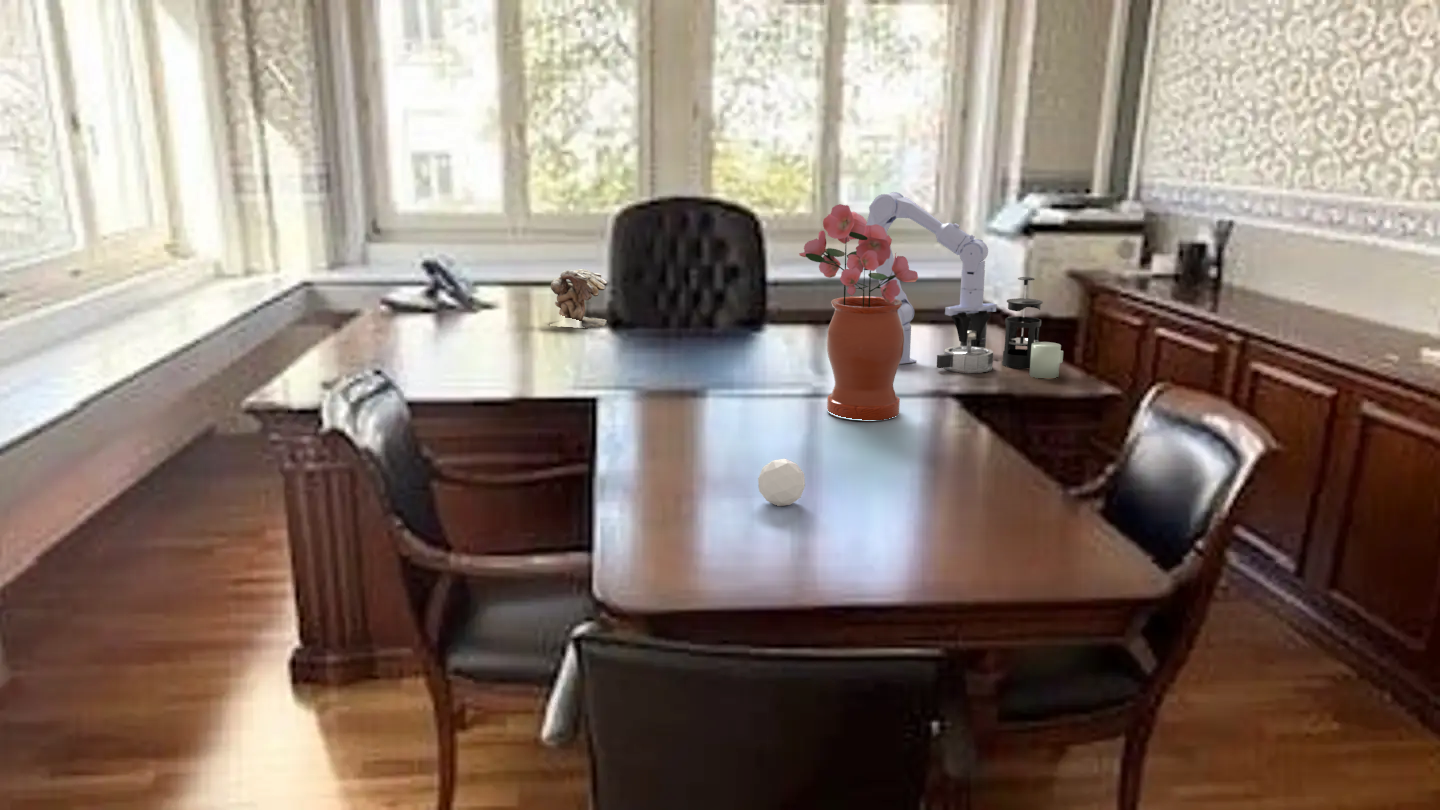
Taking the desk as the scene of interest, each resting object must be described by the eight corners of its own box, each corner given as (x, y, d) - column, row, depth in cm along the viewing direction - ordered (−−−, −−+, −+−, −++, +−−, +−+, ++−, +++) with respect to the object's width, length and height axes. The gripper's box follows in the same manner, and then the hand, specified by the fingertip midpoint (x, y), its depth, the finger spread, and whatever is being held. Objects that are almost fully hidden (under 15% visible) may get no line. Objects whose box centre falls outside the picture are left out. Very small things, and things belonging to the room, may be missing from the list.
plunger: (964, 359, 265) (966, 336, 263) (944, 352, 273) (945, 330, 271) (993, 355, 268) (994, 333, 267) (971, 349, 276) (973, 327, 275)
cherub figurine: (568, 317, 347) (566, 263, 343) (618, 320, 341) (616, 265, 337) (542, 326, 331) (539, 269, 327) (593, 329, 325) (591, 272, 321)
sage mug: (1042, 380, 259) (1044, 348, 257) (1023, 374, 265) (1025, 343, 263) (1069, 376, 262) (1072, 345, 260) (1050, 371, 268) (1052, 340, 266)
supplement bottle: (987, 355, 287) (990, 312, 283) (962, 355, 287) (965, 312, 284) (982, 350, 293) (984, 307, 290) (957, 350, 293) (960, 307, 290)
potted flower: (794, 401, 240) (796, 201, 228) (903, 399, 241) (911, 200, 230) (805, 424, 222) (809, 207, 210) (923, 421, 223) (933, 206, 211)
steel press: (952, 376, 263) (952, 358, 261) (924, 367, 273) (924, 349, 272) (1001, 370, 269) (1002, 353, 267) (972, 361, 279) (973, 344, 278)
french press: (1047, 368, 271) (1054, 279, 266) (1014, 370, 269) (1020, 280, 263) (1023, 358, 282) (1029, 273, 276) (991, 360, 280) (997, 274, 274)
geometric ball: (769, 516, 177) (753, 473, 179) (814, 499, 177) (796, 456, 179) (765, 509, 170) (748, 464, 172) (811, 491, 169) (793, 446, 172)
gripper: (958, 292, 260) (955, 346, 263) (1005, 288, 266) (1002, 341, 269) (941, 288, 266) (938, 341, 270) (987, 285, 272) (984, 336, 275)
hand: (969, 341), depth 270 cm, fingers closed on plunger, 3 cm apart
